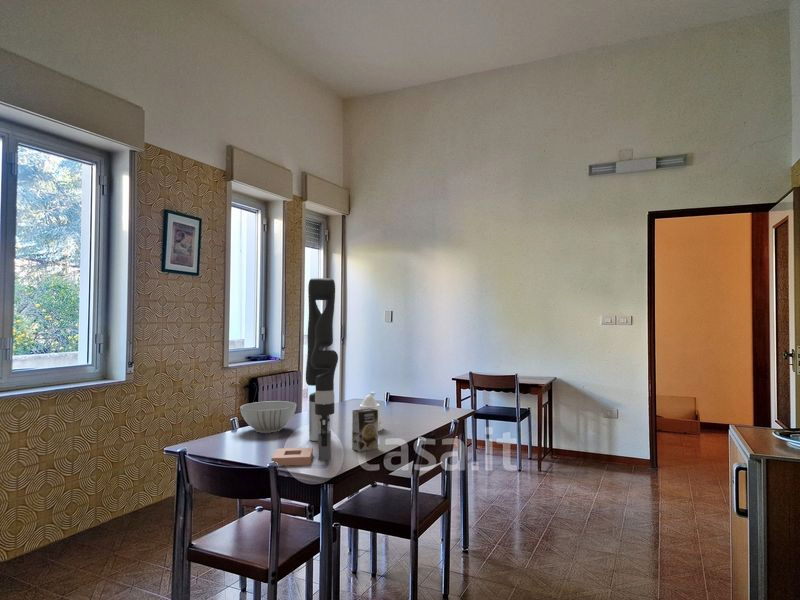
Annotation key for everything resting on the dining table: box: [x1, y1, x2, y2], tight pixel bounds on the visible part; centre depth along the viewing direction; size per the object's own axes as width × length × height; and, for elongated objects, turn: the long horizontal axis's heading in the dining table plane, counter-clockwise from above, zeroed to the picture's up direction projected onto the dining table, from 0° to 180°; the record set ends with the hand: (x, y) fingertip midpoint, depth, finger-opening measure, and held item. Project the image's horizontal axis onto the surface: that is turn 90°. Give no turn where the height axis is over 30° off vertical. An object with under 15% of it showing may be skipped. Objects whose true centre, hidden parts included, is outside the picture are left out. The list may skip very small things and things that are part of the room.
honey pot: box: [359, 391, 383, 432], centre depth 252 cm, size 13×13×18 cm
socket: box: [270, 447, 314, 467], centre depth 197 cm, size 14×14×3 cm
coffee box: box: [351, 408, 379, 452], centre depth 213 cm, size 9×6×16 cm
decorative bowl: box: [239, 400, 297, 434], centre depth 251 cm, size 27×27×12 cm
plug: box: [317, 430, 332, 461], centre depth 200 cm, size 5×5×10 cm
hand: (324, 443), depth 200 cm, fingers open, 8 cm apart
